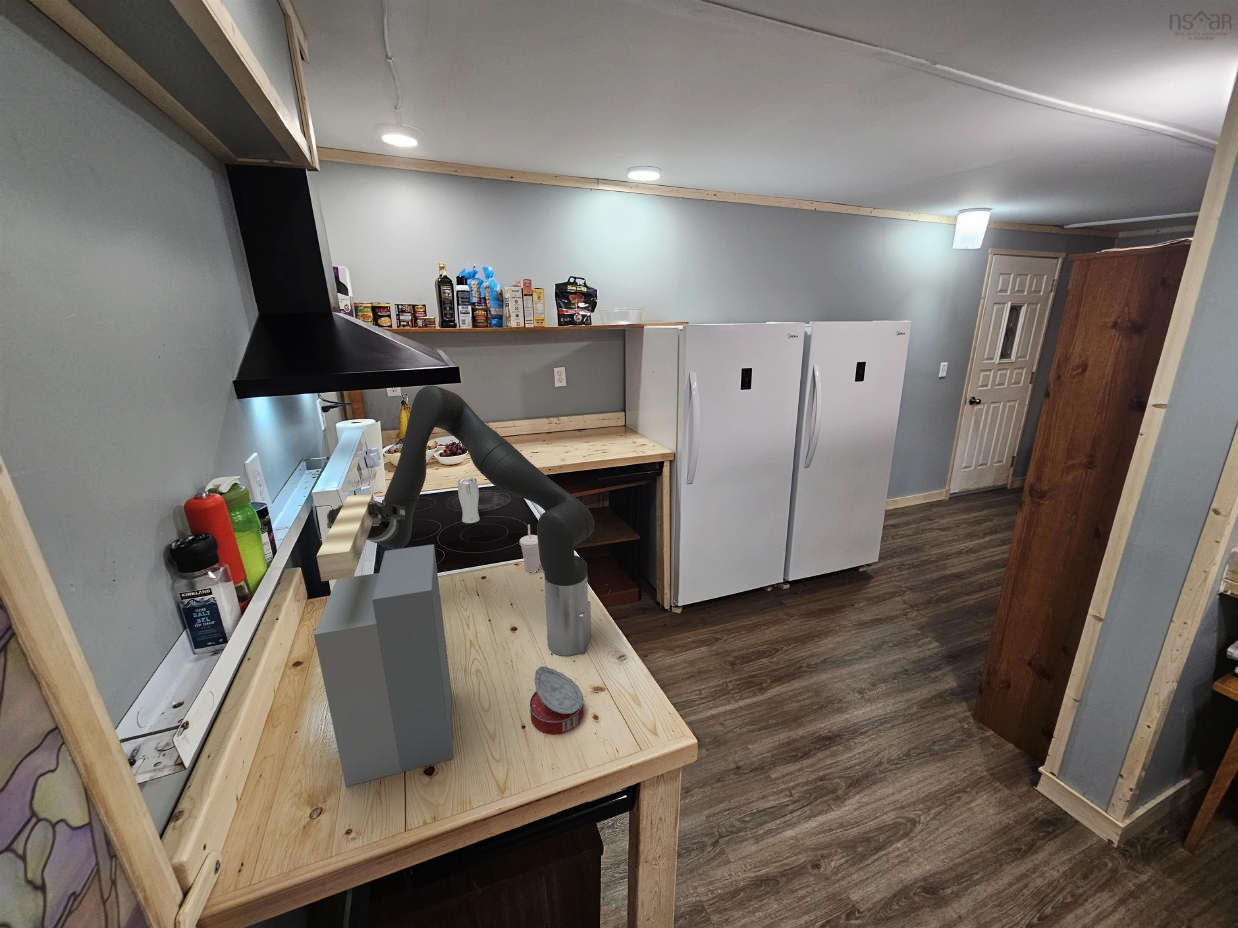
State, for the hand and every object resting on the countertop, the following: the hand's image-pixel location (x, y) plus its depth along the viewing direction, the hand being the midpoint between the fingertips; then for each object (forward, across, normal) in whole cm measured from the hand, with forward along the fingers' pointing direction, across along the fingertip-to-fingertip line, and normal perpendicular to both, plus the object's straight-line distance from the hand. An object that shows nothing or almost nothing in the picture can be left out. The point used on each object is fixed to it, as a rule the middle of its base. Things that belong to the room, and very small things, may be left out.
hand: (355, 509), depth 84 cm
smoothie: (-55, +35, +14) cm, 66 cm away
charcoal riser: (-10, +4, +39) cm, 41 cm away
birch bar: (+4, 0, +6) cm, 7 cm away
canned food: (-7, +31, +42) cm, 52 cm away
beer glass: (-92, +20, -8) cm, 95 cm away
